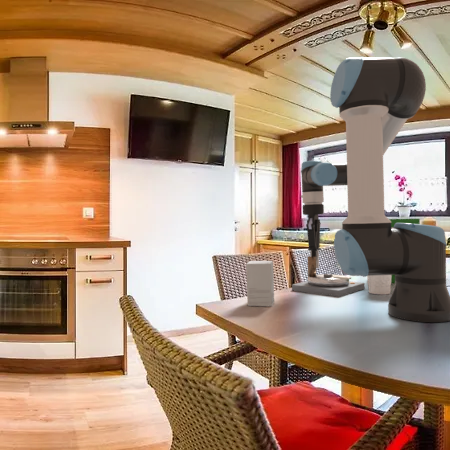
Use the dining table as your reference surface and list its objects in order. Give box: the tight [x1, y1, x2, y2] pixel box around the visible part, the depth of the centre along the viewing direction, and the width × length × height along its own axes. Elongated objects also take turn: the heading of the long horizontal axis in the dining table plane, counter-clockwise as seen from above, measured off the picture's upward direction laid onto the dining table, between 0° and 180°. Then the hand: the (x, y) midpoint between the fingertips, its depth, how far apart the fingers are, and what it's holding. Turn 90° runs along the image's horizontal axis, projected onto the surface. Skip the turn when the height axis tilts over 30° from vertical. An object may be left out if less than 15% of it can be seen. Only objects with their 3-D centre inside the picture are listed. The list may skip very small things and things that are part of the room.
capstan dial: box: [307, 255, 352, 286], centre depth 136 cm, size 16×14×9 cm
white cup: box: [366, 275, 392, 295], centre depth 129 cm, size 8×8×10 cm
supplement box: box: [245, 260, 275, 307], centre depth 116 cm, size 7×7×13 cm
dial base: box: [291, 280, 366, 298], centre depth 136 cm, size 18×18×2 cm
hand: (315, 267), depth 143 cm, fingers closed
